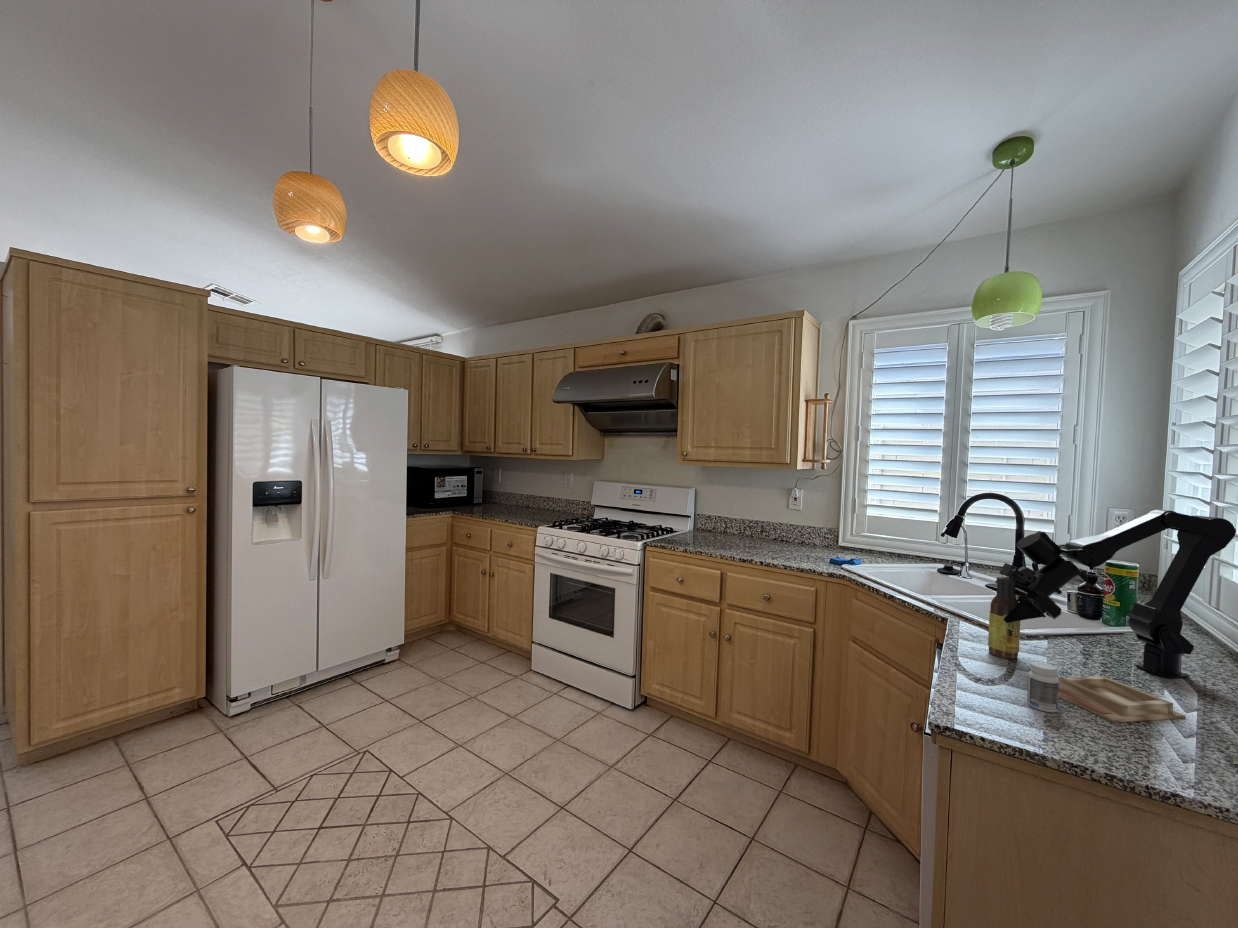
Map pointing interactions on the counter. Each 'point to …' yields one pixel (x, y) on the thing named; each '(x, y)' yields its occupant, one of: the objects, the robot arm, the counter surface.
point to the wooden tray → (1115, 699)
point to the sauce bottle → (1001, 633)
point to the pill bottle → (1043, 687)
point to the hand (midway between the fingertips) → (998, 617)
